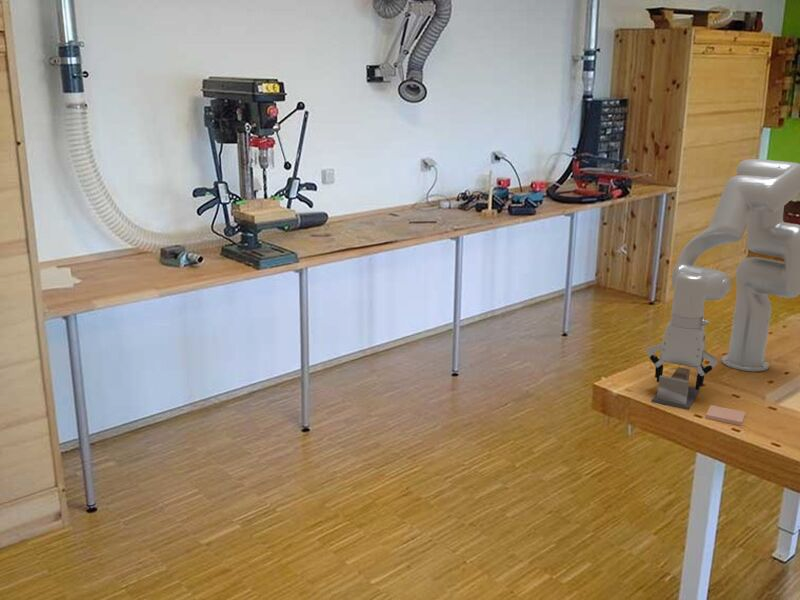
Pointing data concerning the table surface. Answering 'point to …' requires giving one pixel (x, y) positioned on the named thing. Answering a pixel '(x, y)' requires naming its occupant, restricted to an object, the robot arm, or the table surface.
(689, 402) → the mat
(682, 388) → the scraper
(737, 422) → the tile
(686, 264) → the robot arm
